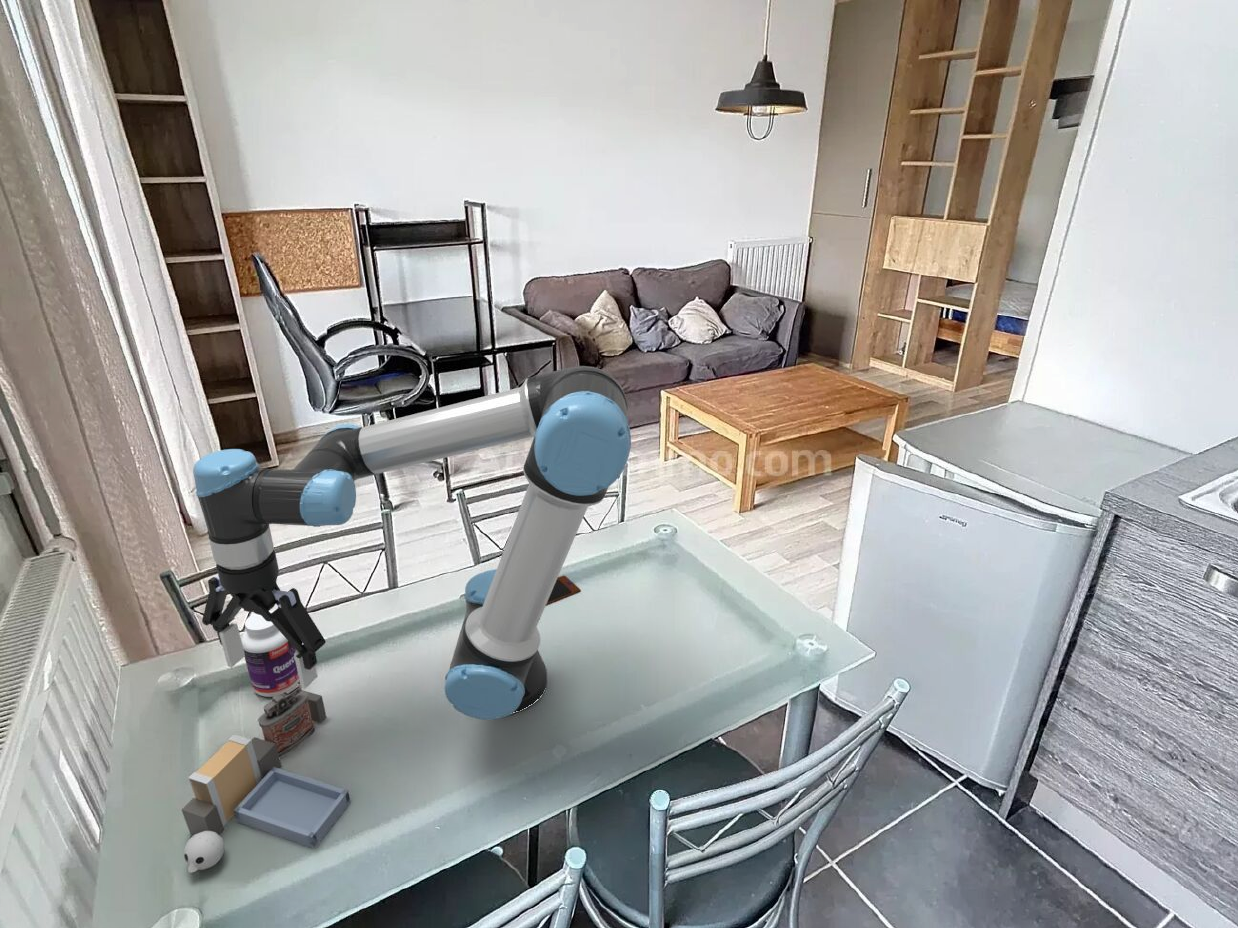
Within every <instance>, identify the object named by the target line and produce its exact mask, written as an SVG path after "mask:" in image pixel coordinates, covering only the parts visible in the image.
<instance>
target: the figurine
mask: <svg viewBox="0 0 1238 928" xmlns="http://www.w3.org/2000/svg"><path fill="white" fill-rule="evenodd" d="M224 852H225V841H224V839H223V838H222V836H221V834H220V835H219V834H218V833H216V832H212V831H203V832H200V833H198V834H195V835H193V836H192V837H191V838H189V839H188V841H187V842H186V844H185V846H184V848H183V859H184V861H185V862H186V865H187V866H188V868H187V871H188V873H191V874H192V873H195V872H197V871H199V870H200V871H201V870H202V871H204V870H206V869H209V868H212V867H214V866H215V865H216V864H217V863H218V862H219V861H220V860H221V859H222V857H223V854H224Z"/></svg>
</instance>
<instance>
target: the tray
mask: <svg viewBox="0 0 1238 928" xmlns="http://www.w3.org/2000/svg"><path fill="white" fill-rule="evenodd" d="M350 796H351V795H350V794H349V790H348V789H345V788H341V787H338V786H335V785H331V784H328V783H326V782H322V781H320V780H316V779H314V778H310V777H307V776H303V775H300V774H297V773H295V772H291V771H288V770H284V769H282V768H280V769H279V768H276V767H273V768H272V770H271V771H270V772H269V773H268V774H267V775H266V776H265V777H264V778H263V779H262V780H261V781H260V782H259V784H258V785H257V786H256V787H255V788H254V789H253V790H252V791H251V792H250V793H249V794H248V795H247V796H246V798H245V799H244V800H243V801H242V802H241V803H240V804H239V805H238V806H237V807H236V808H235V809H234V817H235V819H236V822H237V823H240V824H243V825H245V826H248V827H251V828H254V829H257V830H260V831H263V832H266V833H269V834H271V835H273V836H278V837H279V838H283V839H286V840H288V841H291V842H294V843H296V844H299V845H303V846H306V847H308V848H311V849H314V848H315V847H316V846H317V847H318V845H319V844H320V843H321V841H322V840H323V839H324V838H325V836H326V834H328V833H329V831H330V830H331V828H332V827H333V826H334V825H335V823H336V822H337V821H338V819H339V818H340V817H341V815H342V814H343V813H342V812H344V811H345V810H346V809H347V807H348V806H349V805H350V803H351V797H350ZM348 804H349V805H348ZM345 808H346V809H345ZM335 821H336V822H335ZM332 825H333V826H332ZM323 837H324V838H323ZM319 842H320V843H319ZM318 843H319V844H318ZM317 847H316V848H317ZM316 848H315V849H316Z"/></svg>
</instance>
